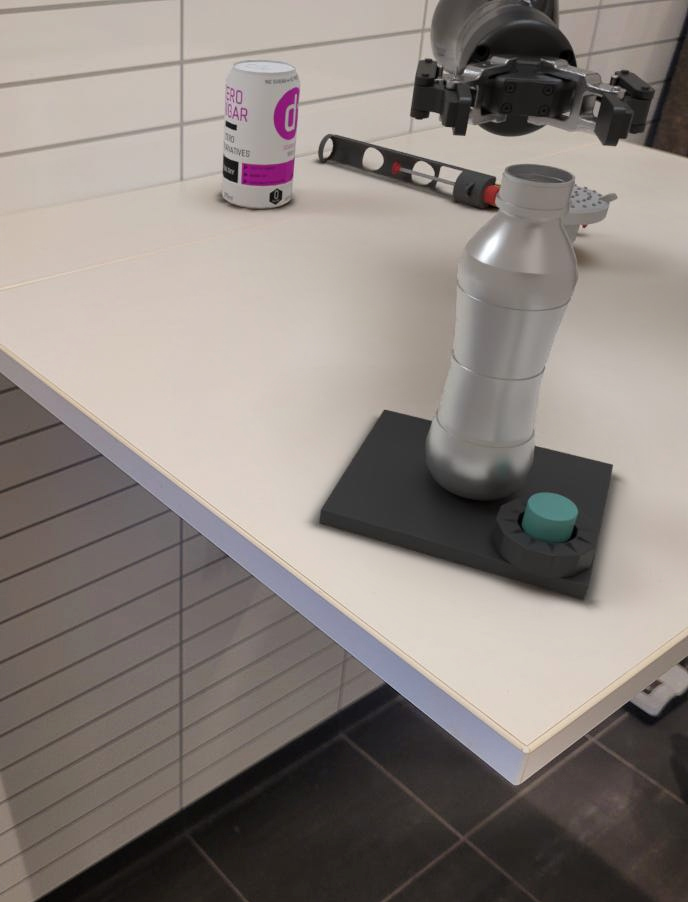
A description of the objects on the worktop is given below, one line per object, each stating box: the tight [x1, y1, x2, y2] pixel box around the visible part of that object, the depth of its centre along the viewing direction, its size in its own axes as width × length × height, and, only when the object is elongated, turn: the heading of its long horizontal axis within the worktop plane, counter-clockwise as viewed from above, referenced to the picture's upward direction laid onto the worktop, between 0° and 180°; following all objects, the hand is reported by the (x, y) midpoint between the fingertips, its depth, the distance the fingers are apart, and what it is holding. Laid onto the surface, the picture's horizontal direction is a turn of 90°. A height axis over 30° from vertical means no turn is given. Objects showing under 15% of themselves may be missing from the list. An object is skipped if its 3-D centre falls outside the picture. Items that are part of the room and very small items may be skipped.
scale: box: [318, 408, 614, 601], centre depth 61 cm, size 16×14×3 cm
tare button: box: [522, 493, 578, 543], centre depth 55 cm, size 3×3×2 cm
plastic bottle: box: [426, 163, 579, 501], centre depth 55 cm, size 6×7×20 cm
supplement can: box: [221, 59, 301, 210], centre depth 107 cm, size 8×8×15 cm
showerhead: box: [562, 183, 619, 244], centre depth 97 cm, size 9×7×10 cm
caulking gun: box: [317, 133, 589, 229], centre depth 115 cm, size 4×37×10 cm
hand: (538, 123), depth 54 cm, fingers open, 8 cm apart
